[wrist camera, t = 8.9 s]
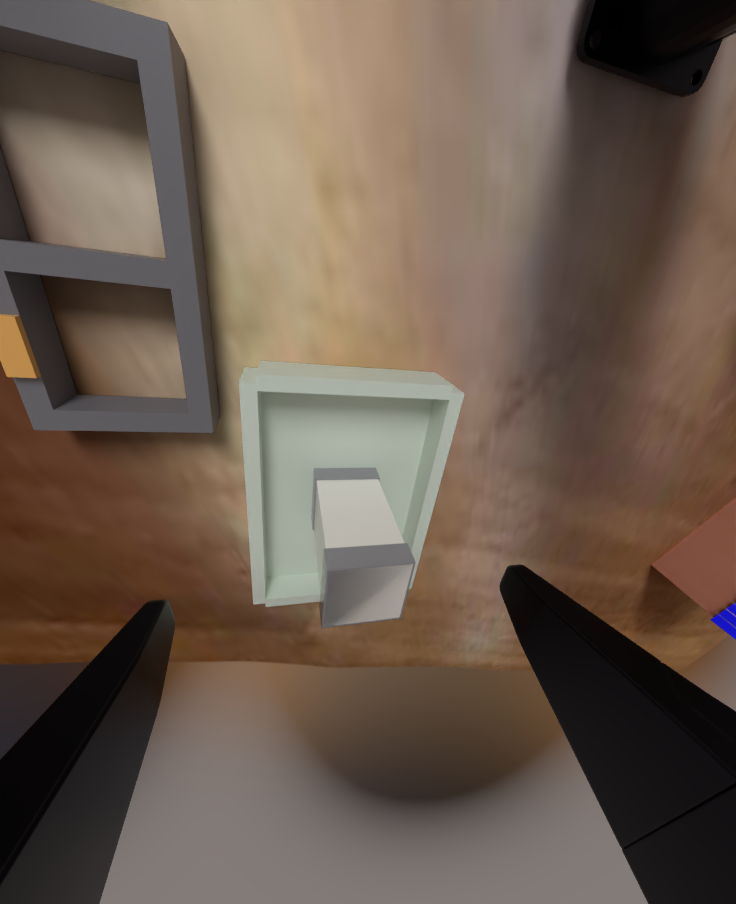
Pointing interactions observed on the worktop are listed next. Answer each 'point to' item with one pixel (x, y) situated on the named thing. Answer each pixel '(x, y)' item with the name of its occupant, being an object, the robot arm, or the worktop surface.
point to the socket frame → (183, 271)
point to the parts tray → (335, 457)
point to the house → (707, 566)
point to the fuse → (358, 549)
